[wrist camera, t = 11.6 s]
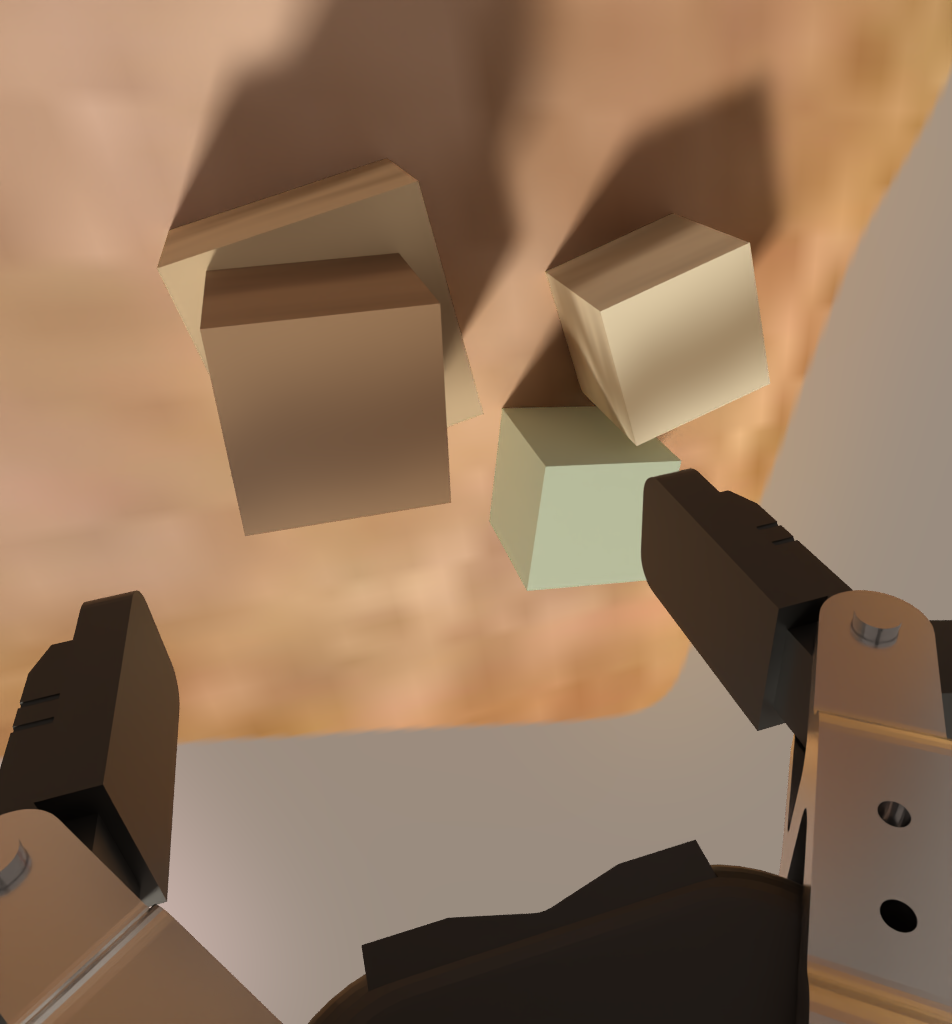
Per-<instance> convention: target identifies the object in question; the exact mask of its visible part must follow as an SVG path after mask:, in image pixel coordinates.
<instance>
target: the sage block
mask: <svg viewBox="0 0 952 1024" xmlns="http://www.w3.org/2000/svg"><path fill="white" fill-rule="evenodd" d="M680 464H681V460H680V459H679V458H678V457H677V456H675V455H674V454H673V453H672V452H671V451H670V450H669V449H668V448H667V447H666V446H665V445H664V444H663V443H661V442H660V441H659V440H658V439H657V438H656V437H655V438H653V439H651V440H649V441H647V442H645V443H642V444H640V445H638V446H636V445H635V444H634V443H633V442H632V441H631V440H630V439H629V438H628V437H627V436H626V435H625V434H624V433H623V432H622V431H621V430H620V429H619V428H618V427H617V426H616V425H615V424H614V423H613V422H612V421H611V420H610V419H609V418H608V417H607V416H606V415H605V414H604V413H603V412H602V411H601V410H600V409H599V408H598V407H597V406H583V407H532V408H502V414H501V423H500V432H499V441H498V449H497V458H496V467H495V476H494V484H493V493H492V502H491V511H490V520H489V521H490V523H491V525H492V527H493V529H494V531H495V533H496V534H497V536H498V538H499V540H500V542H501V544H502V545H503V547H504V549H505V551H506V553H507V555H508V557H509V558H510V560H511V562H512V564H513V566H514V568H515V569H516V571H517V573H518V575H519V577H520V579H521V581H522V582H523V584H524V586H525V588H526V590H527V591H530V590H542V589H553V588H564V587H576V586H587V585H599V584H610V583H621V582H633V581H644V580H646V577H645V575H644V571H643V567H642V562H641V534H642V510H643V490H644V484H645V482H646V480H647V479H648V478H650V477H654V476H659V475H663V474H668V473H672V472H677V471H679V468H680Z"/></svg>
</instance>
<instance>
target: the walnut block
mask: <svg viewBox="0 0 952 1024" xmlns="http://www.w3.org/2000/svg"><path fill="white" fill-rule="evenodd" d="M200 332H201V337H202V341H203V346H204V350H205V355H206V360H207V364H208V369H209V373H210V378H211V382H212V387H213V391H214V396H215V401H216V405H217V410H218V414H219V419H220V423H221V428H222V433H223V437H224V442H225V446H226V451H227V455H228V460H229V464H230V469H231V474H232V478H233V483H234V487H235V492H236V496H237V501H238V506H239V510H240V515H241V519H242V524H243V528H244V533H245V536H249V535H255V534H261V533H267V532H273V531H280V530H286V529H292V528H298V527H304V526H310V525H316V524H322V523H329V522H335V521H341V520H347V519H353V518H359V517H365V516H372V515H378V514H384V513H390V512H396V511H402V510H408V509H415V508H421V507H427V506H433V505H439V504H445V503H451V493H450V475H449V456H448V438H447V419H446V400H445V382H444V363H443V345H442V326H441V308H440V303H439V301H438V300H437V299H436V298H435V296H434V295H433V294H432V293H431V292H430V290H429V289H428V288H427V287H426V285H425V284H424V283H423V282H422V281H421V279H420V278H419V277H418V276H417V275H416V273H415V272H414V271H413V270H412V268H411V267H410V266H409V265H408V264H407V262H406V261H405V260H404V259H403V257H402V256H401V255H400V254H399V253H392V254H381V255H370V256H360V257H349V258H338V259H327V260H316V261H306V262H295V263H284V264H273V265H262V266H251V267H241V268H230V269H219V270H208V271H206V276H205V286H204V295H203V304H202V314H201V323H200Z"/></svg>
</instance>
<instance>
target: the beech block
mask: <svg viewBox="0 0 952 1024" xmlns="http://www.w3.org/2000/svg"><path fill="white" fill-rule="evenodd" d="M545 273H546V276H547V279H548V283H549V286H550V289H551V292H552V296H553V299H554V302H555V306H556V309H557V312H558V315H559V319H560V322H561V325H562V328H563V332H564V335H565V338H566V341H567V345H568V348H569V351H570V355H571V358H572V361H573V364H574V368H575V371H576V374H577V377H578V381H579V384H580V387H581V391H582V392H583V393H584V394H585V395H586V396H587V397H588V398H589V399H590V400H591V401H592V402H593V403H594V404H595V405H596V406H597V407H598V408H599V409H600V410H601V411H602V412H603V413H604V414H605V415H606V416H607V417H608V418H609V419H610V420H611V421H612V422H613V423H614V424H615V425H616V426H617V427H618V428H619V429H620V430H621V431H622V432H623V433H624V434H625V435H626V436H627V437H628V438H629V439H630V440H631V441H632V442H633V443H634V444H635V445H636V446H638V445H640V444H642V443H645V442H647V441H649V440H651V439H653V438H655V437H657V436H660V435H662V434H664V433H666V432H668V431H670V430H672V429H674V428H677V427H679V426H681V425H683V424H685V423H687V422H689V421H692V420H694V419H696V418H698V417H700V416H702V415H704V414H707V413H709V412H711V411H713V410H715V409H717V408H719V407H721V406H724V405H726V404H728V403H730V402H732V401H734V400H736V399H739V398H741V397H743V396H745V395H747V394H749V393H751V392H753V391H756V390H758V389H760V388H762V387H764V386H766V385H768V384H770V379H769V372H768V365H767V358H766V351H765V345H764V338H763V331H762V324H761V317H760V310H759V303H758V296H757V289H756V282H755V275H754V268H753V261H752V254H751V247H750V242H747V241H744V240H742V239H739V238H736V237H734V236H731V235H729V234H726V233H723V232H721V231H718V230H716V229H713V228H710V227H708V226H705V225H702V224H700V223H697V222H695V221H692V220H689V219H687V218H684V217H682V216H679V215H676V214H674V213H672V214H670V215H668V216H666V217H664V218H661V219H659V220H657V221H655V222H653V223H651V224H648V225H646V226H644V227H642V228H640V229H637V230H635V231H633V232H631V233H629V234H626V235H624V236H622V237H620V238H618V239H616V240H613V241H611V242H609V243H607V244H605V245H602V246H600V247H598V248H596V249H594V250H592V251H589V252H587V253H585V254H583V255H581V256H578V257H576V258H574V259H572V260H570V261H568V262H565V263H563V264H561V265H559V266H557V267H554V268H552V269H550V270H548V271H546V272H545Z"/></svg>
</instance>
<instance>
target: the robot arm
mask: <svg viewBox="0 0 952 1024" xmlns="http://www.w3.org/2000/svg"><path fill="white" fill-rule="evenodd" d="M641 562H642V567H643V571H644V575H645V577H646V580H647V582H648V584H649V586H650V588H651V590H652V591H653V592H654V594H655V595H656V596H657V598H658V599H659V600H660V602H661V603H662V604H663V606H664V607H665V608H666V610H667V611H668V612H669V614H670V615H671V616H672V618H673V619H674V620H675V622H676V623H677V624H678V626H679V627H680V628H681V630H682V631H683V632H684V634H685V635H686V636H687V638H688V639H689V640H690V642H691V643H692V644H693V646H694V647H695V648H696V650H697V651H698V652H699V654H700V655H701V656H702V657H703V659H704V660H705V661H706V663H707V664H708V665H709V667H710V668H711V670H712V671H713V672H714V674H715V675H716V676H717V677H718V679H719V680H720V682H721V683H722V684H723V685H724V687H725V688H726V690H727V691H728V692H729V693H730V695H731V696H732V698H733V699H734V700H735V702H736V703H737V704H738V706H739V707H740V708H741V709H742V711H743V712H744V714H745V715H746V716H747V717H748V719H749V720H750V721H751V723H752V724H753V725H754V726H755V728H756V729H757V731H759V730H762V729H766V728H769V727H773V726H776V725H780V724H783V723H786V724H787V725H788V727H789V728H790V729H791V730H792V732H793V733H794V736H793V741H792V746H791V752H790V764H789V776H788V789H787V800H786V812H785V824H784V835H783V847H782V857H781V863H780V870H779V875H775V874H771V873H768V872H765V871H762V870H757V869H752V868H746V867H741V866H731V865H710V864H709V862H708V860H707V859H706V857H705V855H704V854H703V852H702V850H701V849H700V847H699V845H698V843H697V841H696V840H694V841H690V842H687V843H684V844H681V845H678V846H675V847H671V848H668V849H665V850H662V851H658V852H656V853H652V854H649V855H646V856H643V857H639V858H637V859H633V860H630V861H627V862H624V863H621V864H618V865H616V866H615V867H613V868H612V869H610V870H609V871H607V872H606V873H604V874H602V875H601V876H599V877H598V878H596V879H595V880H593V881H592V882H590V883H589V884H587V885H585V886H584V887H582V888H581V889H579V890H578V891H576V892H575V893H573V894H572V895H570V896H569V897H567V898H565V899H564V900H562V901H561V902H559V903H558V904H556V905H555V906H553V907H552V908H550V909H548V910H546V911H543V912H540V913H531V914H512V915H494V916H475V917H456V918H446V919H443V920H440V921H437V922H434V923H431V924H427V925H424V926H421V927H418V928H415V929H412V930H409V931H405V932H402V933H399V934H396V935H393V936H390V937H386V938H383V939H380V940H377V941H374V942H371V943H367V944H364V945H362V952H363V959H364V965H365V972H366V974H365V975H363V976H362V977H360V978H359V979H357V980H356V981H354V982H353V983H351V984H349V985H348V986H347V987H346V988H345V989H343V990H342V991H341V992H340V993H338V994H337V995H336V996H335V997H334V998H332V999H331V1000H330V1001H329V1002H328V1003H327V1004H326V1005H325V1006H324V1007H323V1008H322V1009H321V1010H320V1011H319V1012H318V1013H317V1014H316V1015H315V1016H314V1017H313V1018H312V1019H311V1020H310V1022H309V1023H308V1024H952V620H942V621H939V620H935V621H934V620H932V621H931V620H928V619H927V617H926V616H925V615H924V614H923V613H922V612H921V611H919V610H918V609H917V608H915V607H914V606H913V605H911V604H909V603H907V602H905V601H903V600H901V599H899V598H897V597H894V596H891V595H887V594H885V593H880V592H874V591H866V590H855V591H853V590H852V589H851V588H850V587H849V586H847V585H846V584H845V583H844V582H843V581H842V580H841V579H840V578H839V577H838V576H836V575H835V574H834V573H833V572H832V571H831V570H830V569H829V568H828V567H827V566H825V565H824V564H823V563H822V562H821V561H820V560H819V559H818V558H817V557H816V556H814V555H813V554H812V553H811V552H810V551H809V550H808V549H807V548H806V547H804V546H803V545H802V544H801V543H800V542H799V541H798V540H796V541H794V538H793V536H792V535H791V534H790V533H789V532H788V531H787V530H785V529H784V527H782V526H781V525H780V526H778V524H777V521H776V520H775V519H774V518H773V517H771V516H770V515H769V514H768V513H767V512H766V511H765V510H764V509H762V508H761V507H760V506H759V505H758V504H757V503H755V502H753V501H750V500H748V499H746V498H744V497H742V496H740V495H737V494H735V493H733V492H731V491H729V490H728V491H723V492H719V491H718V490H717V489H716V488H715V487H714V486H712V485H711V484H710V483H709V482H708V481H707V480H706V479H705V478H704V477H703V476H702V475H701V474H700V473H699V472H698V471H696V470H695V469H691V468H690V469H686V470H681V471H677V472H672V473H668V474H663V475H659V476H654V477H650V478H648V479H647V480H646V482H645V484H644V490H643V510H642V534H641ZM20 705H21V708H19V709H18V710H17V714H16V717H15V721H14V724H13V730H14V732H13V733H11V734H10V737H9V741H8V744H7V747H6V751H5V754H4V757H3V761H2V764H1V768H0V1024H283V1023H282V1022H281V1021H280V1020H278V1019H277V1018H276V1017H275V1016H274V1015H273V1014H272V1013H271V1012H270V1011H269V1010H268V1009H267V1008H266V1007H265V1006H264V1005H263V1004H262V1003H261V1002H260V1001H259V1000H258V999H257V998H256V997H255V996H254V995H252V993H251V992H250V991H249V990H248V989H247V988H245V987H244V986H243V985H242V984H241V983H240V982H239V981H238V980H237V979H236V978H235V977H234V976H233V975H232V974H231V973H230V972H229V971H228V970H227V969H226V968H225V967H224V966H223V965H222V964H221V963H220V962H219V961H218V960H216V958H215V957H213V956H212V955H211V954H210V953H209V952H208V951H207V950H206V949H205V948H204V947H203V946H202V945H201V944H200V943H199V942H198V941H197V940H196V939H195V938H194V937H193V936H192V935H191V934H190V933H189V932H188V931H187V930H186V929H185V928H184V927H183V926H182V925H180V924H179V923H178V922H177V921H176V920H175V919H174V918H173V917H172V916H171V915H170V914H169V913H168V912H167V911H165V910H164V909H163V908H162V907H160V906H158V905H157V904H160V903H164V902H167V893H168V877H169V862H170V845H171V830H172V815H173V799H174V784H175V767H176V752H177V737H178V722H179V691H178V685H177V680H176V676H175V672H174V669H173V666H172V663H171V661H170V658H169V656H168V654H167V651H166V649H165V646H164V644H163V641H162V639H161V637H160V634H159V632H158V629H157V627H156V625H155V622H154V620H153V617H152V615H151V612H150V610H149V608H148V605H147V603H146V601H145V599H144V597H143V595H142V594H141V593H140V592H139V591H133V592H128V593H124V594H119V595H115V596H110V597H106V598H101V599H97V600H92V601H88V602H84V603H83V605H82V606H81V609H80V613H79V617H78V622H77V626H76V630H75V634H74V638H73V640H71V641H67V642H62V643H58V644H54V645H51V646H50V648H49V649H48V650H47V651H46V653H45V654H44V655H43V656H42V657H41V659H40V660H39V661H38V662H37V664H36V665H35V666H34V667H33V669H32V670H31V671H30V672H29V674H28V677H27V680H26V684H25V687H24V690H23V694H22V697H21V700H20ZM150 906H152V907H151V908H149V907H150Z"/></svg>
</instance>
